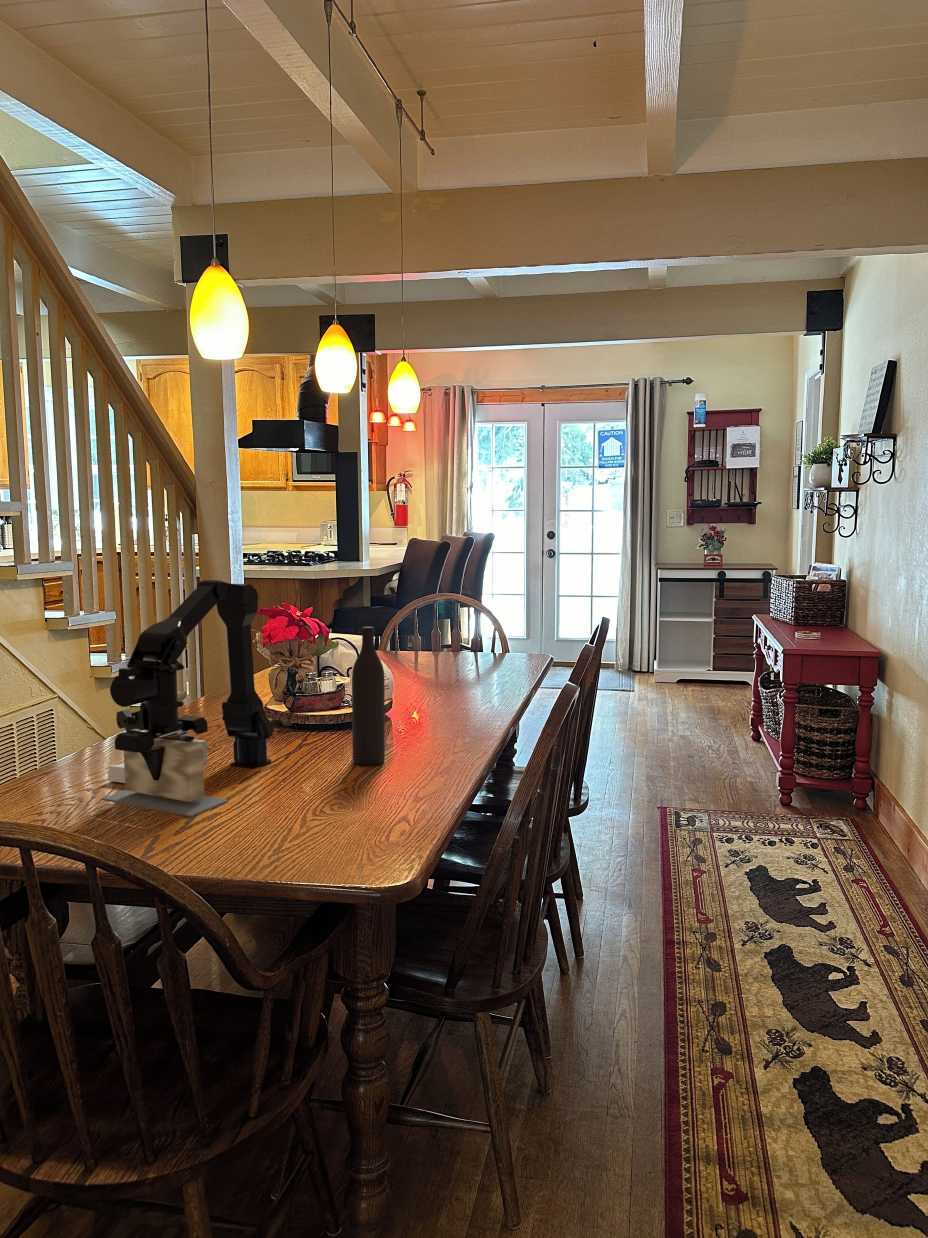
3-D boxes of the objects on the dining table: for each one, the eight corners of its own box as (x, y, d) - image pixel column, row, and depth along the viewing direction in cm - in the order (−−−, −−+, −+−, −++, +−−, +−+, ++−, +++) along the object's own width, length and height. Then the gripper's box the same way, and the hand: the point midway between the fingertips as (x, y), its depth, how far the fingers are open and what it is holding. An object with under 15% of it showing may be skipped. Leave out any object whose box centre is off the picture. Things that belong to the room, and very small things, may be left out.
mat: (228, 801, 176) (228, 799, 175) (191, 817, 167) (191, 815, 167) (141, 786, 185) (141, 784, 185) (102, 800, 176) (102, 798, 176)
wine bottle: (389, 759, 206) (388, 626, 203) (378, 767, 200) (377, 629, 196) (359, 757, 208) (358, 624, 205) (347, 765, 201) (346, 628, 198)
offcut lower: (168, 785, 186) (170, 770, 186) (155, 787, 182) (156, 772, 183) (121, 778, 191) (122, 763, 191) (107, 780, 187) (108, 765, 187)
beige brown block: (204, 796, 174) (203, 744, 173) (189, 801, 170) (187, 749, 169) (140, 784, 181) (138, 734, 180) (125, 790, 177) (123, 739, 176)
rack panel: (207, 763, 202) (206, 740, 202) (203, 764, 201) (202, 742, 201) (165, 756, 207) (164, 734, 207) (161, 757, 206) (160, 736, 206)
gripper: (165, 684, 185) (167, 760, 187) (91, 701, 169) (94, 784, 170) (208, 689, 181) (210, 767, 182) (136, 707, 164) (139, 793, 166)
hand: (164, 777), depth 175 cm, fingers closed on beige brown block, 4 cm apart
